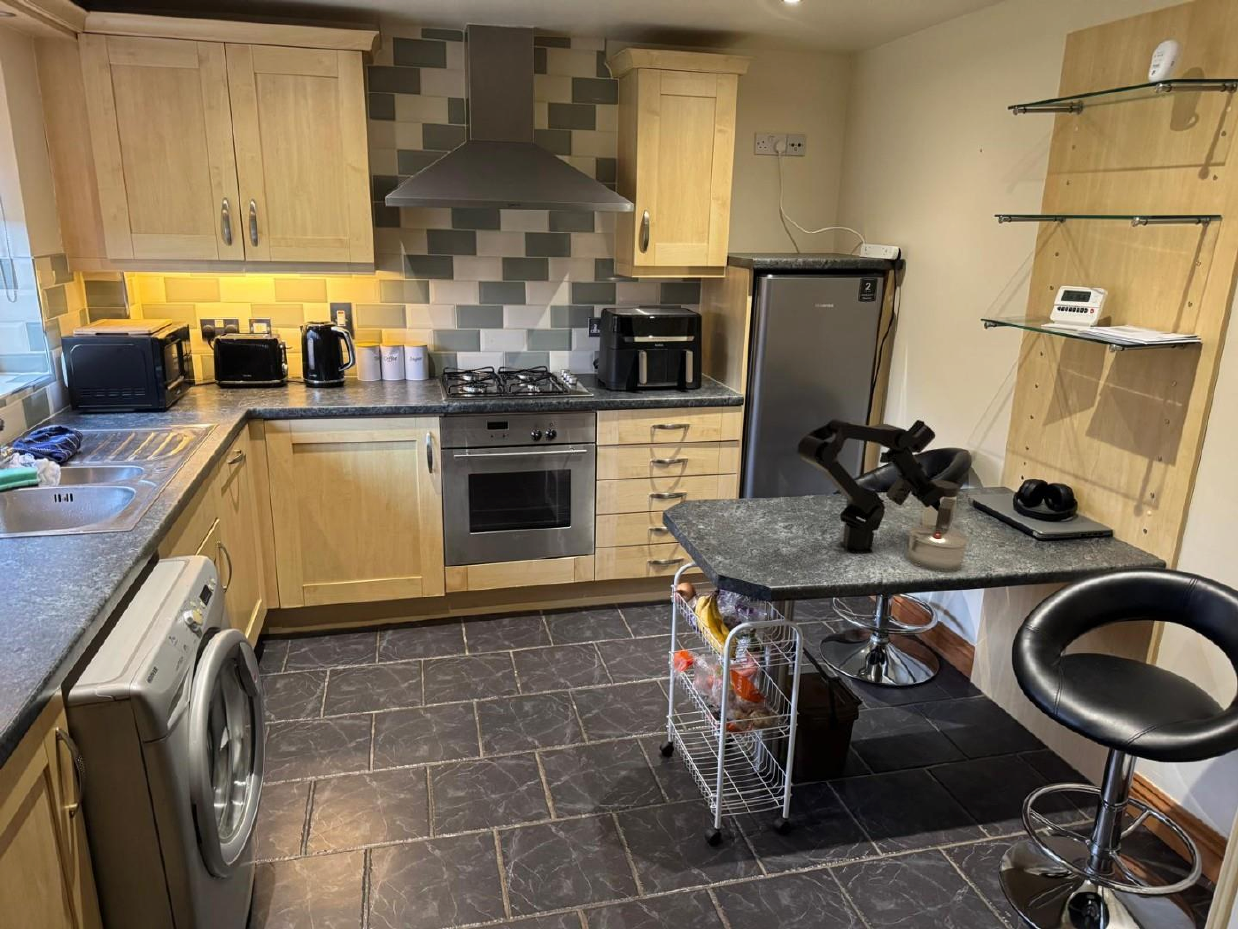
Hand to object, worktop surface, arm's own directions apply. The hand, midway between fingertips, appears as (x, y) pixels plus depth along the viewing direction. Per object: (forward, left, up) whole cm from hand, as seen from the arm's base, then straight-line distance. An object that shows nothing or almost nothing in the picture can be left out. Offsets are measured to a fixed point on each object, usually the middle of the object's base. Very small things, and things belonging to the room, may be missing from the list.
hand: (939, 510), depth 218 cm
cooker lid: (-3, -8, -4) cm, 9 cm away
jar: (+9, +15, -10) cm, 21 cm away
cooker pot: (-4, -9, -10) cm, 13 cm away
